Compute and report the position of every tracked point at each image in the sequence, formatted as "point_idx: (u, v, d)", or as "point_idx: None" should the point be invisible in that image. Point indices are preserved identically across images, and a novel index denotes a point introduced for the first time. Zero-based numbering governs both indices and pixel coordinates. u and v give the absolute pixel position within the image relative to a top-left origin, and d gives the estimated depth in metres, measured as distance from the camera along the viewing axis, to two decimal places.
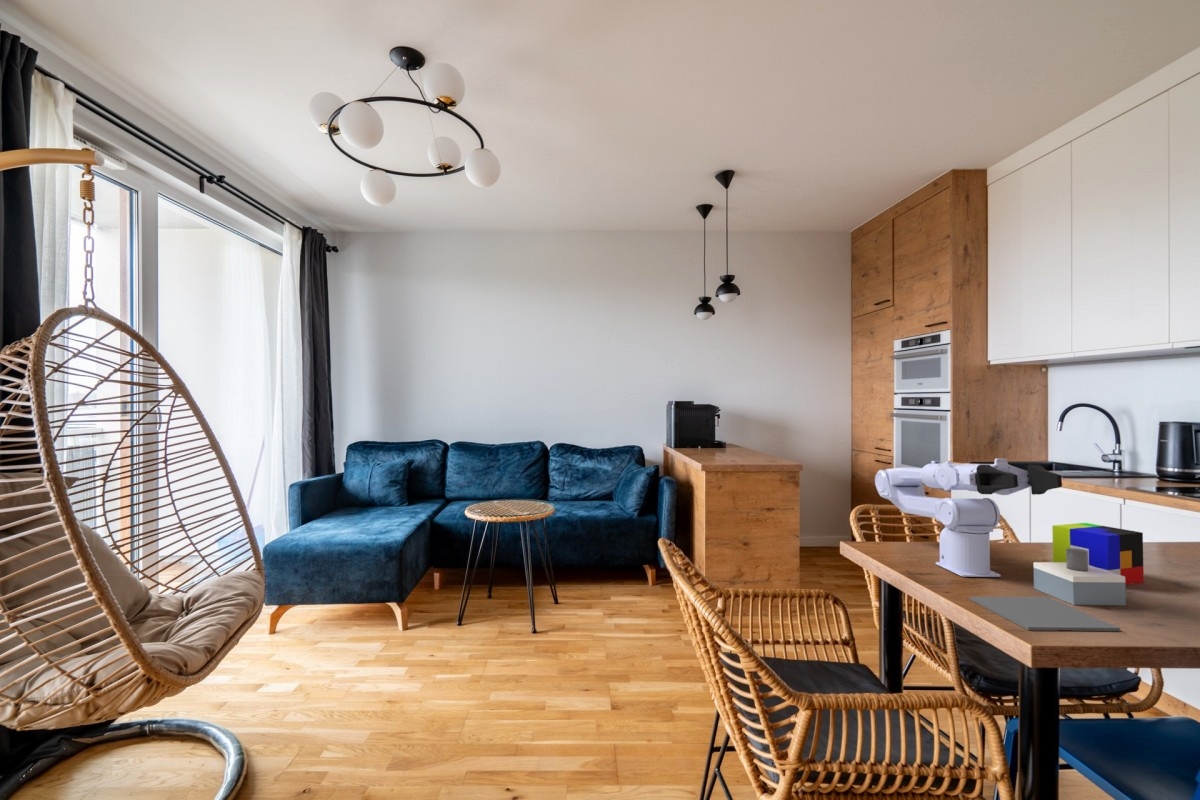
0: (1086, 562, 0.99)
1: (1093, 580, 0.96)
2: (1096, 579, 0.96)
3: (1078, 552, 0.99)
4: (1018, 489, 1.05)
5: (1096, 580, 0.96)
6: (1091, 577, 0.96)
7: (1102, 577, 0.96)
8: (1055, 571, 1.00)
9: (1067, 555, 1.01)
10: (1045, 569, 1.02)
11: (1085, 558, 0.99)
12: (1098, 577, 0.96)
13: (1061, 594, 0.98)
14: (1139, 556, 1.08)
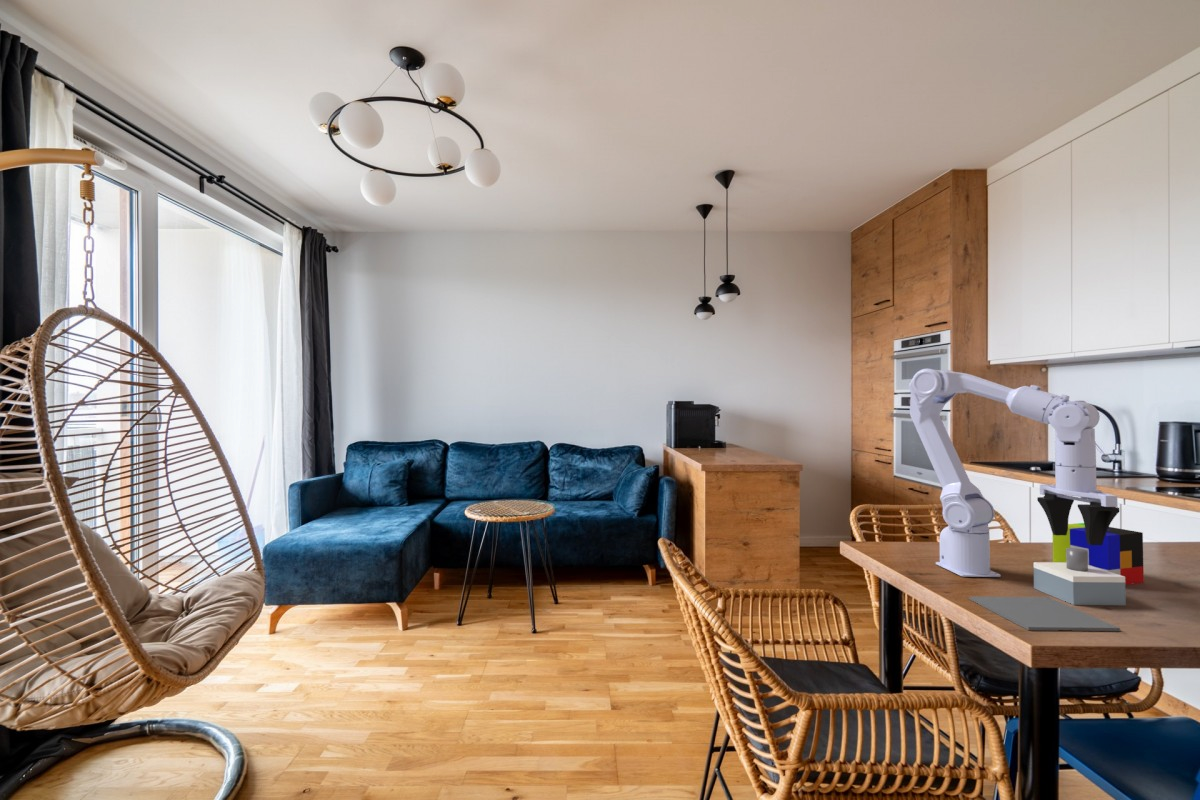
0: (1086, 562, 0.99)
1: (1093, 580, 0.96)
2: (1096, 579, 0.96)
3: (1078, 552, 0.99)
4: None
5: (1096, 580, 0.96)
6: (1091, 577, 0.96)
7: (1102, 577, 0.96)
8: (1055, 571, 1.00)
9: (1067, 555, 1.01)
10: (1045, 569, 1.02)
11: (1085, 558, 0.99)
12: (1098, 577, 0.96)
13: (1061, 594, 0.98)
14: (1139, 556, 1.08)
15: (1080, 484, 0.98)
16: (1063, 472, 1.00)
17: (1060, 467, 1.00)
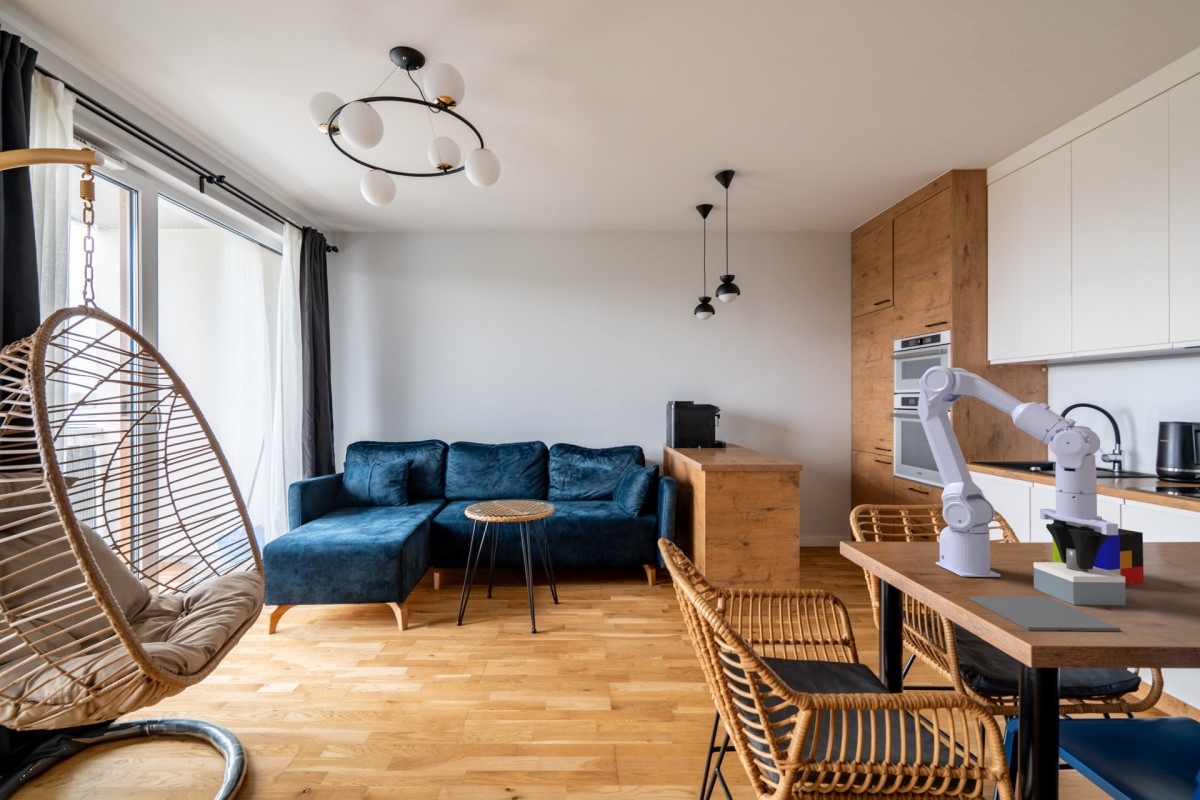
0: None
1: (1093, 580, 0.96)
2: (1096, 579, 0.96)
3: None
4: None
5: (1096, 580, 0.96)
6: (1091, 577, 0.96)
7: (1102, 577, 0.96)
8: (1055, 571, 1.00)
9: (1067, 555, 1.01)
10: (1045, 569, 1.02)
11: None
12: (1098, 577, 0.96)
13: (1061, 594, 0.98)
14: (1139, 556, 1.08)
15: (1081, 511, 0.98)
16: (1064, 498, 1.00)
17: (1061, 493, 1.00)
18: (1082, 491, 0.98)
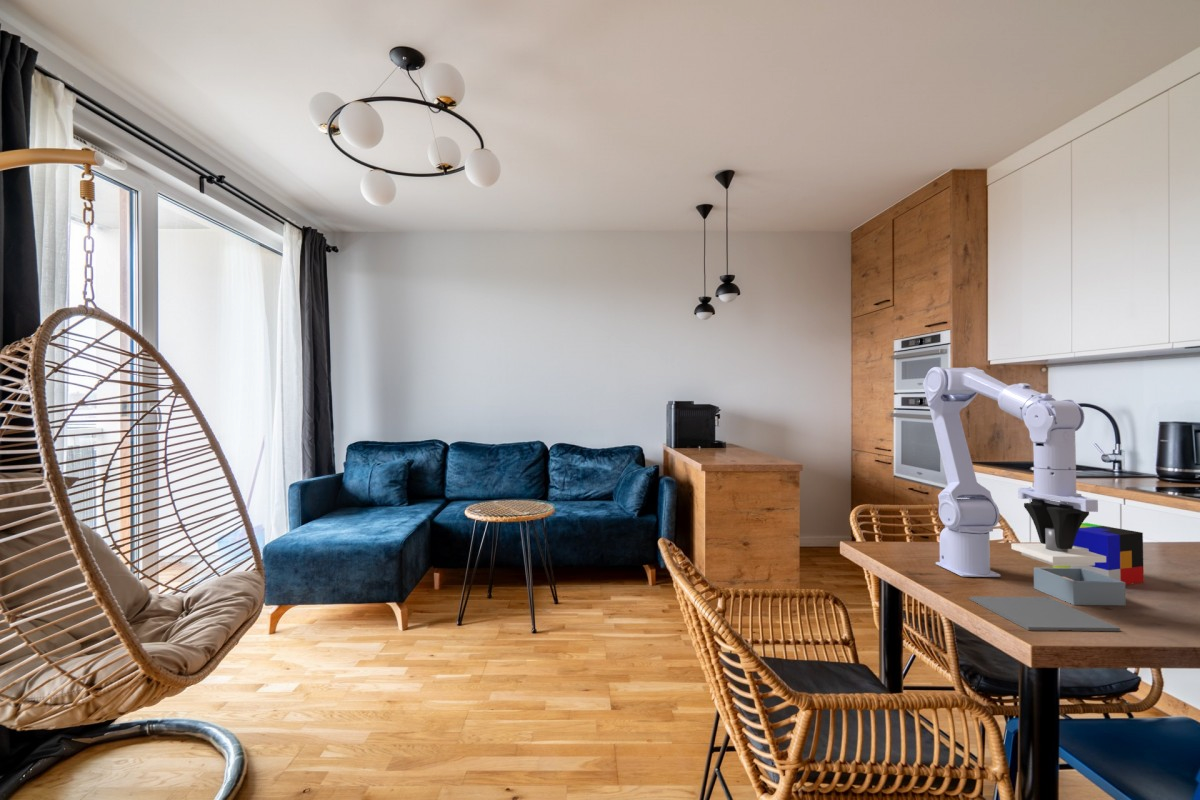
0: None
1: (1073, 560, 0.91)
2: (1076, 559, 0.91)
3: None
4: None
5: (1076, 560, 0.91)
6: (1071, 557, 0.91)
7: (1082, 557, 0.91)
8: (1034, 552, 0.95)
9: (1046, 535, 0.96)
10: (1023, 550, 0.97)
11: None
12: (1078, 557, 0.91)
13: (1061, 594, 0.98)
14: (1139, 556, 1.08)
15: (1059, 488, 0.93)
16: (1042, 474, 0.95)
17: (1039, 470, 0.95)
18: (1050, 466, 0.94)
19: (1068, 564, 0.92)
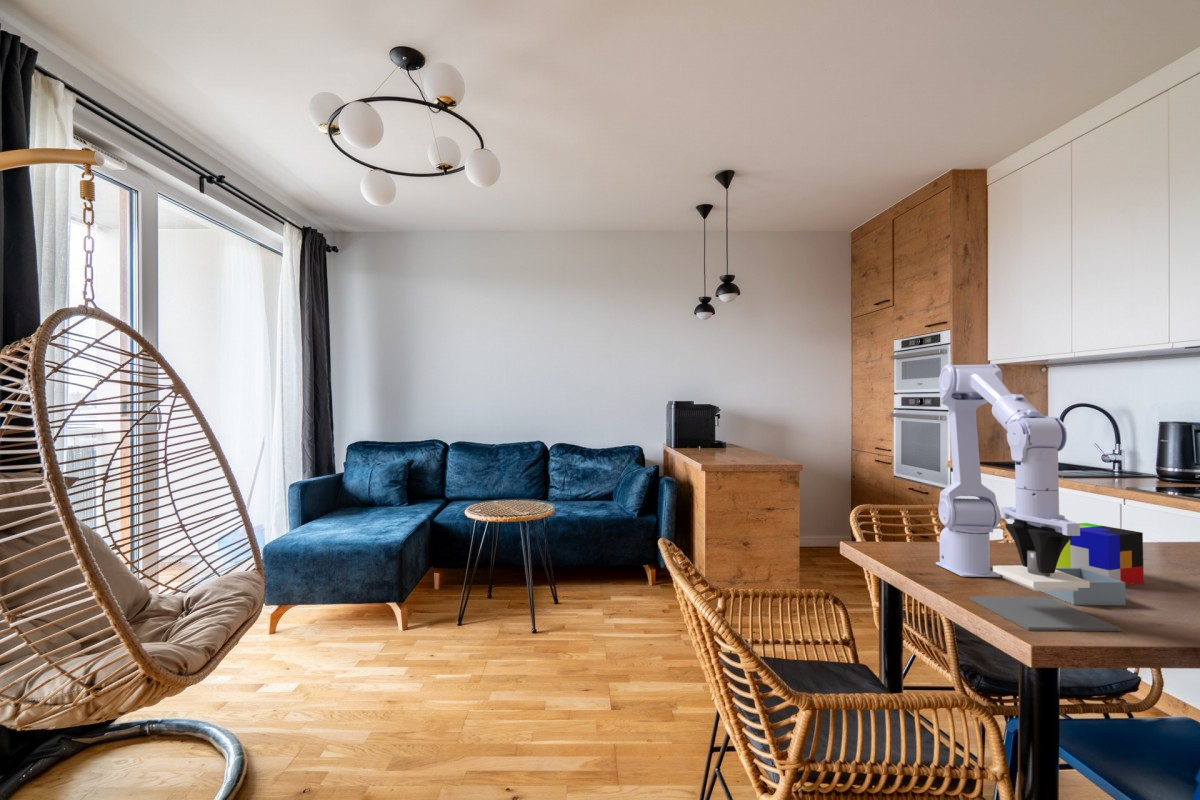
0: None
1: (1055, 586, 0.87)
2: (1058, 584, 0.87)
3: None
4: None
5: (1058, 586, 0.87)
6: (1053, 582, 0.87)
7: (1065, 582, 0.87)
8: (1015, 576, 0.91)
9: (1028, 558, 0.92)
10: (1005, 573, 0.93)
11: None
12: (1060, 582, 0.87)
13: (1061, 594, 0.98)
14: (1139, 556, 1.08)
15: (1041, 509, 0.89)
16: (1023, 495, 0.91)
17: (1020, 490, 0.92)
18: (1027, 486, 0.91)
19: (1050, 589, 0.88)
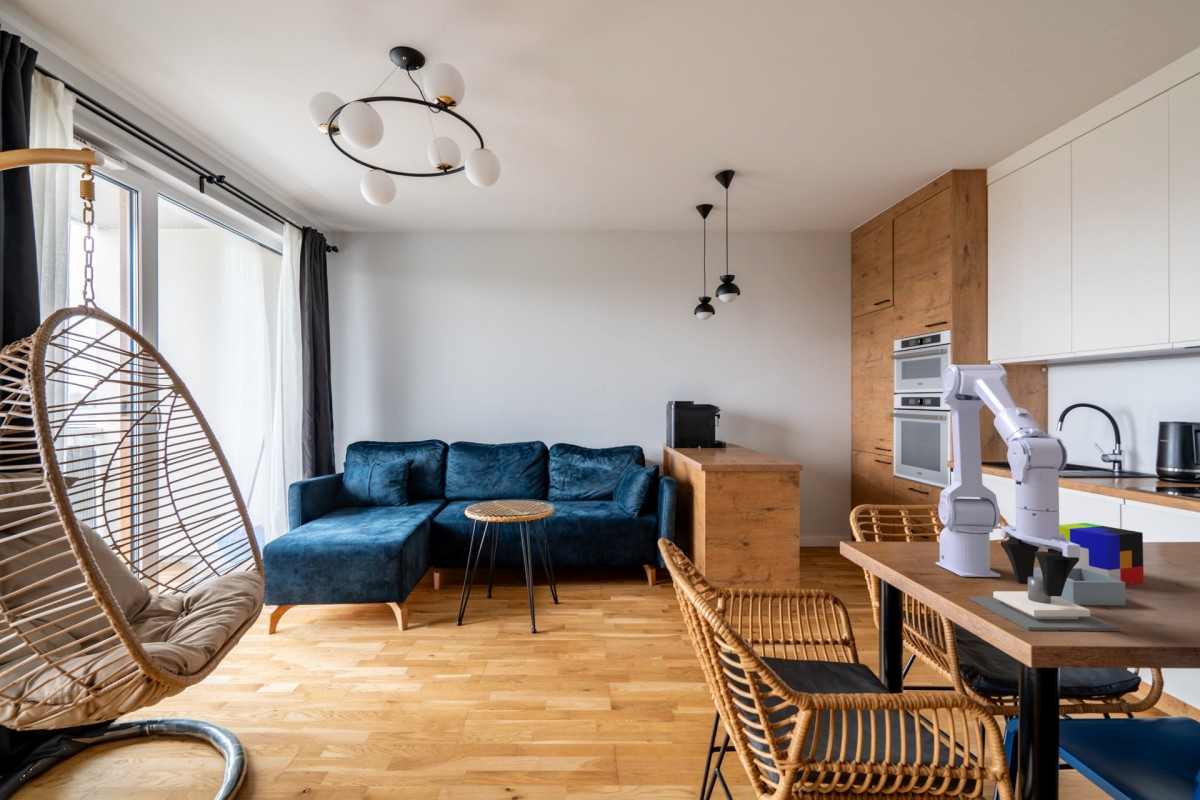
0: None
1: (1056, 614, 0.87)
2: (1059, 613, 0.87)
3: (1040, 582, 0.90)
4: None
5: (1059, 614, 0.87)
6: (1053, 611, 0.87)
7: (1065, 611, 0.87)
8: (1015, 603, 0.91)
9: (1028, 585, 0.92)
10: (1005, 600, 0.93)
11: None
12: (1061, 611, 0.87)
13: None
14: (1139, 556, 1.08)
15: (1041, 530, 0.89)
16: (1024, 515, 0.91)
17: (1020, 510, 0.92)
18: (1027, 506, 0.91)
19: (1050, 617, 0.88)
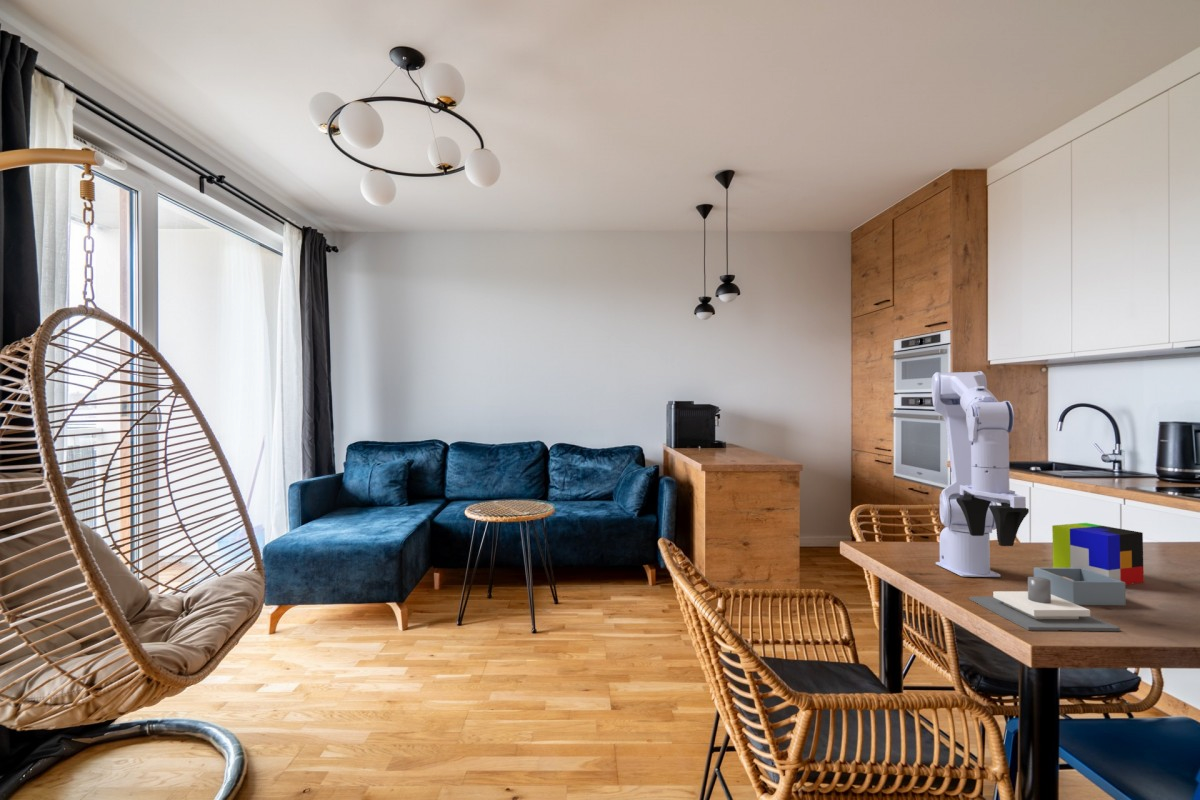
0: (1049, 593, 0.90)
1: (1056, 614, 0.87)
2: (1059, 613, 0.87)
3: (1040, 582, 0.90)
4: None
5: (1059, 614, 0.87)
6: (1053, 611, 0.87)
7: (1065, 611, 0.87)
8: (1015, 603, 0.91)
9: (1028, 585, 0.92)
10: (1005, 600, 0.93)
11: (1048, 589, 0.90)
12: (1061, 611, 0.87)
13: (1061, 594, 0.98)
14: (1139, 556, 1.08)
15: (993, 485, 0.98)
16: (977, 472, 1.00)
17: (975, 468, 1.00)
18: (977, 464, 1.00)
19: (1050, 617, 0.88)
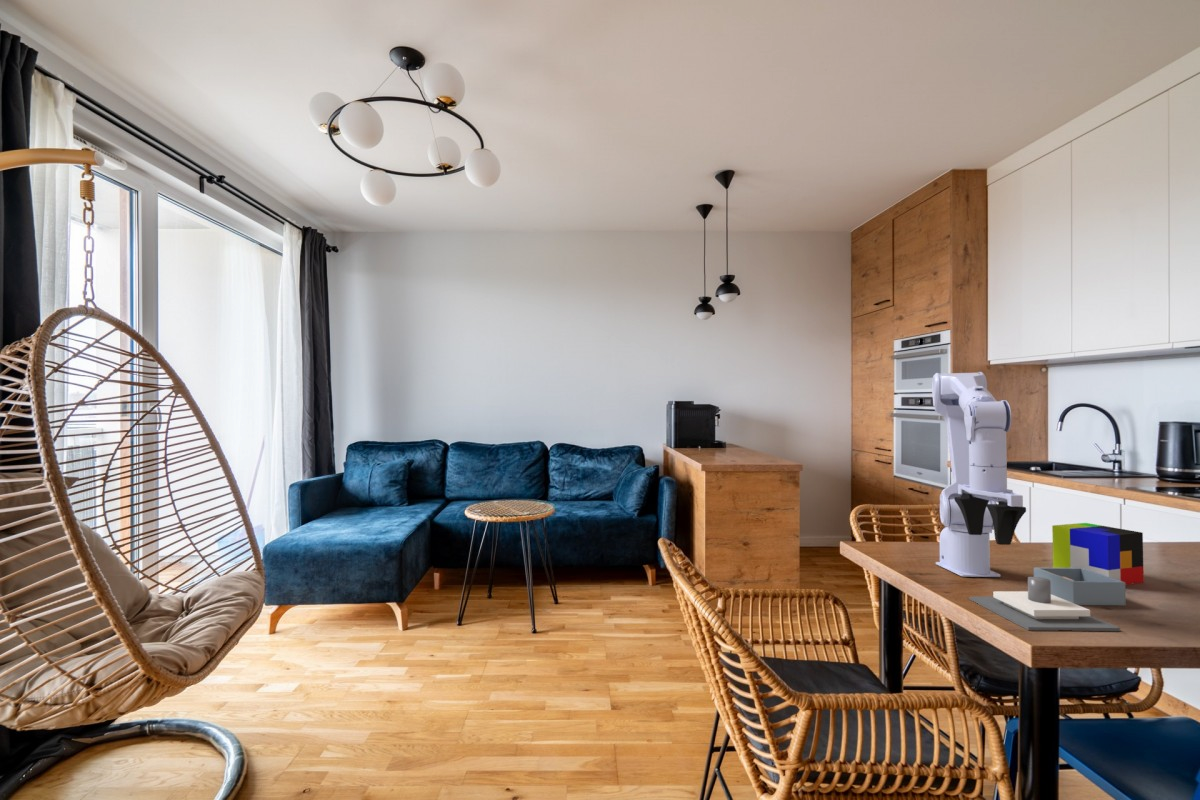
0: (1049, 593, 0.90)
1: (1056, 614, 0.87)
2: (1059, 613, 0.87)
3: (1040, 582, 0.90)
4: None
5: (1059, 614, 0.87)
6: (1053, 611, 0.87)
7: (1065, 611, 0.87)
8: (1015, 603, 0.91)
9: (1028, 585, 0.92)
10: (1005, 600, 0.93)
11: (1048, 589, 0.90)
12: (1061, 611, 0.87)
13: (1061, 594, 0.98)
14: (1139, 556, 1.08)
15: (990, 484, 0.98)
16: (975, 471, 1.00)
17: (972, 467, 1.01)
18: (975, 463, 1.00)
19: (1050, 617, 0.88)
